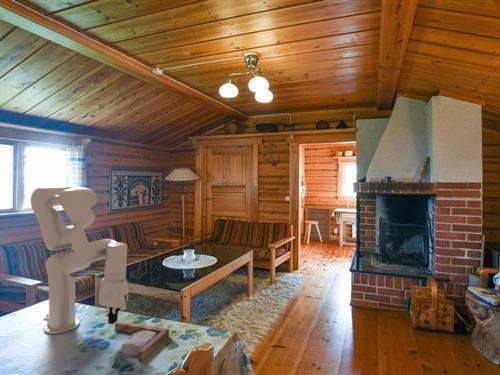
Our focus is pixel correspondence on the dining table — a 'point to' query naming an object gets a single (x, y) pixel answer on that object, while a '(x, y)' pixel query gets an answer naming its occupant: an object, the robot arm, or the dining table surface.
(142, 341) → the stone block
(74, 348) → the dining table surface
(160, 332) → the wooden corner frame
